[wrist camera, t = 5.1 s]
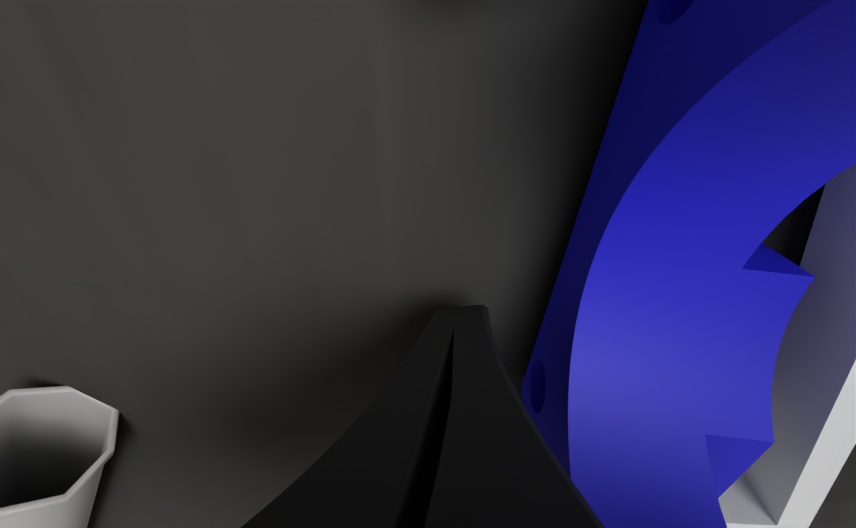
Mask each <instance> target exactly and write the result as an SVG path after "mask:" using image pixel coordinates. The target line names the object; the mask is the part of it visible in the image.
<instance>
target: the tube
mask: <svg viewBox="0 0 856 528" xmlns="http://www.w3.org/2000/svg"><path fill="white" fill-rule="evenodd" d="M118 420H119V411H118V410H117V409H115V408H112V407H110V406H108V405H106V404H104V403H102V402H100V401H98V400H96V399H94V398H92V397H90V396H87V395H85V394H83V393H81V392H79V391H77V390H75V389H73V388H71V387H69V386H53V387H39V388H24V389H9V390H8V391H6V392H5V393H4V394H2V395H1V396H0V528H87V526H88V522H89V518H90V515H91V511H92V507H93V504H94V500H95V496H96V493H97V489H98V485H99V482H100V478H101V474H102V471H103V467H104V464H105V463H106V462H107V461H108V460H109V459H110V458H111V457H112V455H113V454H114V451H115V444H116V436H117V428H118Z"/></svg>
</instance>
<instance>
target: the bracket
mask: <svg viewBox="0 0 856 528" xmlns="http://www.w3.org/2000/svg"><path fill="white" fill-rule="evenodd" d="M799 267H801V268H802V269H804V270H806V271H807V272H809V273H810V274H812V275H814V276H815V279H814V280H813V281H812V283H811V284H810V285H809V287H808V288H807V290H806V292H805V293H804V295H803V296H802V298H801V299H800V301H799V303H798V304H797V306H796V308H795V310H794V312H793V314H792V316H791V318H790V320H789V322H788V324H787V326H786V329H785V332H784V335H783V338H782V340H781V343H780V346H779V350H778V354H777V359H776V363H775V367H774V375H773V384H772V422H773V434H774V441H775V443H774V444H773V445H772V446H771V447H770V448H768V449H767V450H766V451H765V452H764V453H763V454H762V455H761V456H760V457H759V458H758V459H757V460H756V461H755V462H754V463H753V464H752V465H751V466H750V467H749V468H748V469H747V470H746V471H745V472H744V473H743V474H742V475H741V476H740V477H739V478H738V479H737V480H736V481H735V482H734V483H733V484H732V485H731V486H730V487H729V488H728V489H727V490H726V491H725V492H724V493H723V494H722V495H721V496H720V497H719V498H718V500H719V504H720V507H721V510H722V513H723V516H724V519H725V522H726V525H727V528H809V526H810V524H811V522H812V520H813V519H814V517H815V515H816V513H817V512H818V510H819V508H820V506H821V504H822V503H823V501H824V499H825V497H826V496H827V494H828V492H829V490H830V488H831V487H832V485H833V483H834V481H835V480H836V478H837V476H838V474H839V472H840V471H841V469H842V467H843V465H844V463H845V462H846V460H847V458H848V456H849V455H850V453H851V451H852V449H853V447H854V446H855V444H856V163H855V164H853V165H852V166H850V167H849V168H847V169H846V170H844V171H842V172H841V173H839V174H838V175H836V176H835V177H833V178H832V179H831V180H830V181H828V182H827V183H826V184H825V187H824V190H823V194H822V197H821V200H820V203H819V206H818V209H817V212H816V216H815V219H814V222H813V225H812V228H811V231H810V235H809V238H808V241H807V244H806V247H805V250H804V253H803V257H802V260H801V263H800V266H799Z"/></svg>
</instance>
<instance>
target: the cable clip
mask: <svg viewBox="0 0 856 528" xmlns="http://www.w3.org/2000/svg"><path fill="white" fill-rule="evenodd" d="M855 163H856V0H649V1H648V4H647V7H646V10H645V13H644V16H643V19H642V22H641V25H640V28H639V31H638V34H637V37H636V40H635V43H634V46H633V49H632V52H631V55H630V58H629V61H628V64H627V67H626V70H625V73H624V76H623V80H622V83H621V86H620V89H619V92H618V95H617V98H616V101H615V104H614V107H613V110H612V113H611V116H610V119H609V122H608V125H607V128H606V131H605V134H604V137H603V140H602V143H601V146H600V149H599V152H598V155H597V158H596V161H595V164H594V167H593V170H592V173H591V176H590V179H589V183H588V186H587V189H586V192H585V195H584V198H583V201H582V204H581V207H580V210H579V213H578V216H577V219H576V222H575V225H574V228H573V231H572V234H571V237H570V240H569V243H568V246H567V249H566V252H565V255H564V258H563V261H562V264H561V267H560V270H559V273H558V276H557V279H556V283H555V286H554V289H553V292H552V295H551V298H550V301H549V304H548V307H547V310H546V313H545V316H544V319H543V322H542V325H541V328H540V331H539V334H538V337H537V340H536V343H535V346H534V349H533V352H532V355H531V358H530V361H529V364H528V367H527V370H526V373H525V376H524V379H523V382H522V386H521V391H522V397H523V402H524V406H525V408H526V409H527V411H528V413H529V415H530V416H531V418H532V420H533V421H534V423H535V425H536V426H537V428H538V430H539V431H540V433H541V435H542V436H543V438H544V439H545V441H546V443H547V444H548V446H549V447H550V449H551V450H552V452H553V454H554V455H555V457H556V458H557V460H558V461H559V463H560V464H561V466H562V467H563V469H564V470H565V471H566V473H567V474H568V476H569V477H570V478H571V480H572V481H573V483H574V484H575V486H576V487H577V488H578V490H579V491H580V493H581V494H582V496H583V497H584V498H585V500H586V501H587V503H588V504H589V505H590V507H591V508H592V510H593V511H594V513H595V514H596V515H597V517H598V518H599V519H600V521H601V522H602V523H603V525H604V526H605V527H606V528H727V525H726V522H725V519H724V516H723V513H722V510H721V507H720V504H719V500H718V498H719V497H720V496H721V495H722V494H723V493H724V492H725V491H726V490H727V489H728V488H729V487H730V486H731V485H732V484H733V483H734V482H735V481H736V480H737V479H738V478H739V477H740V476H741V475H742V474H743V473H744V472H745V471H746V470H747V469H748V468H749V467H750V466H751V465H752V464H753V463H754V462H755V461H756V460H757V459H758V458H759V457H760V456H761V455H762V454H763V453H764V452H765V451H766V450H767V449H768V448H770V447H771V446H772V445H773V444H774V443H775V441H774V434H773V422H772V384H773V375H774V367H775V363H776V359H777V354H778V350H779V346H780V343H781V340H782V338H783V335H784V332H785V329H786V326H787V324H788V322H789V320H790V318H791V316H792V314H793V312H794V310H795V308H796V306H797V304H798V303H799V301H800V299H801V298H802V296H803V295H804V293H805V292H806V290H807V288H808V287H809V285H810V284H811V283H812V281H813V280H814V279H815V276H814V275H812V274H810V273H809V272H807V271H806V270H804V269H802V268H801V267H799V266H798V265H796V264H794V263H793V262H791V261H790V260H788V259H787V258H785V257H783V256H782V255H780V254H779V253H777V252H775V251H774V250H772V249H771V248H769V247H767V246H766V245H764V244H763V243H762V241H763V240H764V239H765V238H766V237H767V236H768V235H769V234H770V232H771V231H772V230H773V229H774V228H775V227H776V226H777V225H778V224H779V223H780V222H781V221H782V220H783V219H784V218H785V217H786V216H787V215H788V214H789V213H790V212H791V211H793V210H794V209H795V208H796V207H797V206H798V205H799V204H800V203H802V202H803V201H804V200H805V199H806V198H807V197H808V196H810V195H811V194H812V193H814V192H815V191H816V190H818V189H819V188H820V187H822V186H823V185H824V184H826V183H827V182H828V181H830V180H831V179H832V178H833V177H835V176H836V175H838V174H839V173H841V172H842V171H844V170H846V169H847V168H849V167H850V166H852V165H853V164H855Z"/></svg>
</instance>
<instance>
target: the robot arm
mask: <svg viewBox="0 0 856 528" xmlns="http://www.w3.org/2000/svg"><path fill="white" fill-rule="evenodd" d="M241 528H606V527H605V526H604V525H603V523H602V522H601V521H600V519H599V518H598V517H597V515H596V514H595V513H594V511H593V510H592V508H591V507H590V505H589V504H588V503H587V501H586V500H585V498H584V497H583V496H582V494H581V493H580V491H579V490H578V488H577V487H576V486H575V484H574V483H573V481H572V480H571V478H570V477H569V476H568V474H567V473H566V471H565V470H564V469H563V467H562V466H561V464H560V463H559V461H558V460H557V458H556V457H555V455H554V454H553V452H552V450H551V449H550V447H549V446H548V444H547V443H546V441H545V439H544V438H543V436H542V435H541V433H540V431H539V430H538V428H537V426H536V425H535V423H534V421H533V420H532V418H531V416H530V415H529V413H528V411H527V409H526V408H525V406H524V404H523V402H522V400H521V398H520V397H519V395H518V393H517V391H516V389H515V387H514V385H513V383H512V381H511V379H510V377H509V375H508V373H507V371H506V369H505V366H504V364H503V362H502V359H501V357H500V354H499V352H498V350H497V347H496V344H495V342H494V339H493V333H492V328H491V322H490V317H489V311H488V308H487V307H486V306H484V305H474V306H464V307H454V308H443V309H437V310H436V311H435V313H434V314H433V316H432V317H431V319H430V320H429V322H428V324H427V325H426V327H425V328H424V330H423V331H422V333H421V335H420V336H419V338H418V339H417V341H416V342H415V344H414V345H413V347H412V348H411V350H410V351H409V353H408V354H407V355H406V357H405V358H404V360H403V361H402V363H401V364H400V366H399V367H398V368H397V370H396V371H395V373H394V374H393V375H392V376H391V378H390V379H389V380H388V382H387V383H386V384H385V386H384V387H383V388H382V389H381V391H380V392H379V393H378V395H377V396H376V397H375V398H374V400H373V401H372V402H371V403H370V404H369V406H368V407H367V408H366V409H365V410H364V412H363V413H362V414H361V415H360V416H359V417H358V418H357V420H356V421H355V422H354V423H353V424H352V425H351V426H350V427H349V428H348V429H347V431H346V432H345V433H344V434H343V435H342V436H341V437H340V438H339V439H338V440H337V441H336V442H335V443H334V444H333V445H332V446H331V447H330V448H329V449H328V450H327V451H326V452H325V453H324V454H323V455H322V456H321V457H320V458H319V459H318V460H317V461H316V462H315V463H314V464H313V465H312V466H311V467H310V468H309V469H307V470H306V471H305V472H304V473H303V474H302V475H301V476H300V477H299V478H298V479H297V480H296V481H295V482H294V483H293V484H291V485H290V486H289V487H288V488H287V489H286V490H285V491H283V492H282V493H281V494H280V495H279V496H278V497H277V498H276V499H274V500H273V501H272V502H271V503H270V504H269V505H267V506H266V507H265V508H264V509H263V510H261V511H260V512H259V513H258V514H257V515H255V516H254V517H253V518H252V519H251V520H249V521H248V522H247V523H246V524H245V525H243V526H242V527H241Z"/></svg>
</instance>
